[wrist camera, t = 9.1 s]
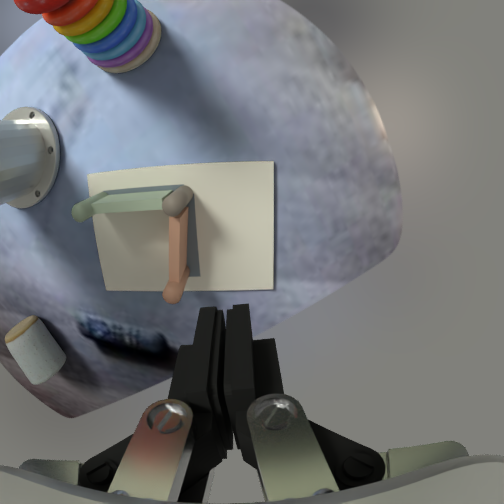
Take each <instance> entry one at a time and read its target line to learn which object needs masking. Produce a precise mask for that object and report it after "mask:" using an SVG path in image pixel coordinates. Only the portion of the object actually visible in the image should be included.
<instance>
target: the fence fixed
mask: <svg viewBox="0 0 504 504" xmlns="http://www.w3.org/2000/svg"><path fill="white" fill-rule="evenodd" d="M172 192H173V190H164V191H150V192H137V193H125V194H114V195H108V194H107V193H106V192H101V193H98V194H96V195H94V196H92V197H90V198H88V199H85V200H83V201H81V202H79V203H77V204H75V205H74V206H73V208H72V217H73V218H74V220H75V221H77V222H83V221H85V220H87V219H88V218H90V217H92V216H93V215H95V214H102V213H115V212H130V211H145V210H162V202H163V200H164V199H165V198H166V197H167V196H169V195H170V194H171V193H172Z"/></svg>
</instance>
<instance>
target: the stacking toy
mask: <svg viewBox="0 0 504 504" xmlns="http://www.w3.org/2000/svg"><path fill="white" fill-rule="evenodd" d="M14 2H15V4H16V5H17V7H18V8H19V9H21V10H22V11H24V12H27V13H30V14H42V16H43V18H44V20H45V21H46V22H47V23H49V24H51V25H53V27H54V29H55V30H56V31H57V32H58V33H59V34H61V35H64V36H65V37H66V38H67V39H68V40H69V41H71V42H73V44H74V45H75V46H76V47H77V48H78V49H79V50H81V51H82V52H83V53H84V54H85V55H86V56H87V58H88V59H89V60H90V61H91V62H92V63H93V64H95V65H97V66H98V67H99V68H101V69H102V70H104V71H107V72H111V73H123V72H127V71H130V70H133V69H135V68H137V67H139V66H140V65H142V64H143V63H144V62H145V61H147V60H148V59H149V58H150V57H151V55H152V54H153V53H154V52H155V50H156V48H157V46H158V44H159V41H160V38H161V25H160V22H159V20H158V18H157V17H156V16H155V15H154V14H153V13H152V12H151V11H149V10H147V9H146V8H144V7H143V6H142V5H141V3H140V2H138V1H137V0H14Z"/></svg>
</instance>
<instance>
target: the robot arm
mask: <svg viewBox="0 0 504 504" xmlns="http://www.w3.org/2000/svg"><path fill="white" fill-rule="evenodd" d="M59 161H60V145H59V139H58V135H57V132H56V129H55V126H54V124H53V123H52V121H51V119H50V118H49V117H48V116H47V114H46V113H44V112H43V111H41V110H40V109H37V108H34V107H20V108H17V109H15V110H13V111H11V112H10V113H8V114H7V115H6V116H5V117H4V118H3V119H2V120H0V205H2V204H5V203H7V204H9V205H10V206H12V207H15V208H27V207H31V206H33V205H35V204H37V203H39V202H40V201H41V200H43V199H44V198H45V196H46V195H47V194H48V193H49V191H50V190H51V188H52V186H53V184H54V182H55V179H56V177H57V172H58V168H59ZM233 433H234V436H235V441H236V445H237V448H238V449H241V452H242V456H243V460H244V461H245V462H246V463H248V464H250V465H251V466H252V467H254V468H255V469H257V474H258V477H259V482H260V485H261V489H262V493H263V496H264V500H265V502H255V503H235V504H504V456H501V455H488V454H487V455H473V456H469V454H468V452H467V450H466V448H465V447H464V446H463V445H462V444H460V443H458V442H455V441H444V442H438V443H432V444H427V445H419V446H412V447H404V448H394V449H388V451H387V452H381V453H378V452H376V451H374V450H372V449H371V448H368V447H366V446H363V445H361V444H359V443H357V442H354V441H352V440H350V439H348V438H345V437H343V436H341V435H339V434H337V433H335V432H332V431H330V430H328V429H326V428H324V427H322V426H320V425H318V424H316V423H314V422H312V421H310V420H308V419H307V417H306V415H305V412H304V410H303V408H302V406H301V404H300V403H299V401H297V400H296V399H295V398H293V397H291V396H288V395H286V394H284V391H283V385H282V379H281V373H280V367H279V361H278V356H277V350H276V344H275V339H274V338H271V339H262V340H253V338H252V329H251V320H250V311H249V304H239V305H233V309H229V310H227V320H226V326H225V320H224V314H223V310H217V307H203V308H200V311H199V316H198V321H197V326H196V331H195V336H194V342H193V345H181V346H180V348H179V352H178V356H177V360H176V365H175V369H174V373H173V378H172V382H171V387H170V391H169V396H168V399H165V400H160V401H158V402H155V403H153V404H152V405H150V406H149V407H148V408H147V409H146V410H145V412H144V413H143V415H142V417H141V419H140V421H139V424H138V425H137V428H136V430H135V432H134V434H132V435H130V436H129V437H127V438H125V439H124V440H122V441H120V442H119V443H117V444H115V445H113V446H112V447H110V448H108V449H106V450H105V451H103V452H101V453H99V454H98V455H96V456H94V457H92V458H90V459H89V460H88V461H86V462H85V463H81V462H80V461H79V460H76V461H74V460H72V461H71V460H68V461H67V460H42V459H30V460H27V461H25V462H23V463H22V465H20V467H19V468H14V467H9V466H2V465H0V504H208V500H209V495H210V491H211V486H212V482H213V478H214V467H216V466H217V465H218V464H219V463H221V462H222V459H227V450H232V449H233ZM232 504H234V503H232Z"/></svg>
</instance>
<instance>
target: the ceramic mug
mask: <svg viewBox="0 0 504 504" xmlns="http://www.w3.org/2000/svg"><path fill="white" fill-rule="evenodd" d="M5 342H6V345H7V347H8V349H9V351H10V353H11V354H12V356H13V357H14V358H15V360H16V361H17V363H18V364H19V366H20V367H21V369H22V370H23V372H24V373H25V375H26V376H27V378H28V379H29V380H30V382H31V383H32V384H34V385H37V384H41V383H43V382H45V381H47V380H49V379H50V378H51V377H52V376H54V375H55V374H56V373H57V372H58V371H59V370H60V369H61V367H62V366H63V365H64V363H65V361H66V355H65V353H64V352H63V350H62V349H61V348H60V346H59V345H58V344H57V342H56V341H55V339H54V338H53V337H52V335H51V334H50V332H49V331H48V330H47V328H46V327H45V325H44V324H43V322H42V321H41V320H40V319H39V318H38V317H37V316H34V315H32V316H29V317H27V318H26V319H24V320H22V321H21V322H20V323H18V324H17V325H16V326H14V327H13V328H12V329H11V330H10V331H9V332H8V333H7V334H6V336H5Z"/></svg>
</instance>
